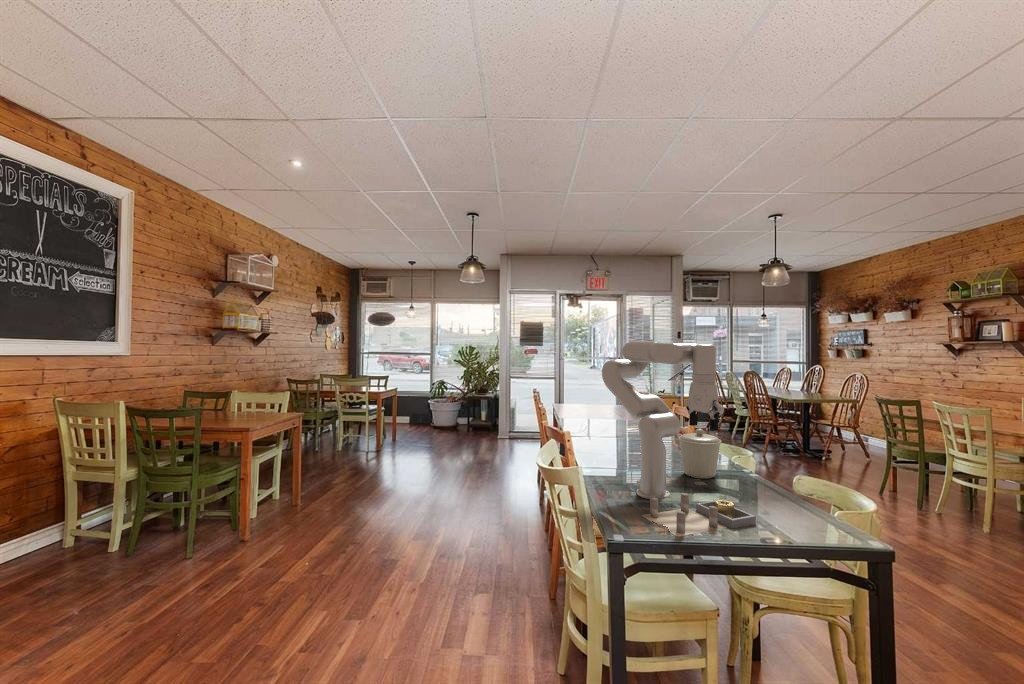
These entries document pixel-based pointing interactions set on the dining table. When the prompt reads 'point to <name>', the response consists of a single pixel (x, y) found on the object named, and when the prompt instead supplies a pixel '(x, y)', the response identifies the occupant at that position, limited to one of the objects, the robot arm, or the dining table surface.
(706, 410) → the robot arm
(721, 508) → the tan faceted piece
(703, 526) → the spacer board
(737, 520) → the tray
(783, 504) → the dining table surface
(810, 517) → the dining table surface
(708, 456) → the canister
